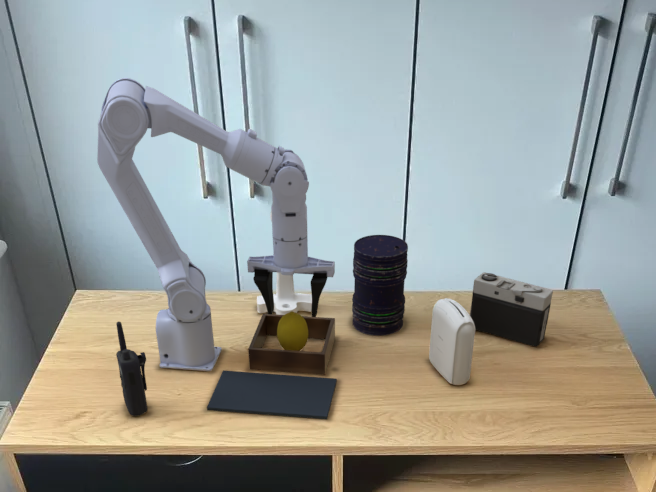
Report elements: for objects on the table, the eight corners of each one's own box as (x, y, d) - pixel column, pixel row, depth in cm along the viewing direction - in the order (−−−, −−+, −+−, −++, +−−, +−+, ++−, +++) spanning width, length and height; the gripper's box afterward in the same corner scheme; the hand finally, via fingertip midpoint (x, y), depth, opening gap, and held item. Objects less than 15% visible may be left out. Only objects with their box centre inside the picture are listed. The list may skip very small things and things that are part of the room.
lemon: (297, 364, 152) (296, 322, 147) (272, 355, 154) (269, 314, 149) (314, 351, 155) (314, 309, 150) (289, 343, 158) (287, 301, 152)
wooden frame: (249, 369, 151) (248, 349, 148) (264, 333, 160) (262, 313, 157) (325, 375, 149) (324, 354, 147) (335, 338, 159) (335, 318, 156)
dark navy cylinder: (346, 332, 161) (347, 253, 150) (357, 309, 167) (359, 232, 157) (399, 338, 159) (403, 259, 149) (407, 314, 166) (412, 237, 156)
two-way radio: (123, 402, 143) (107, 318, 132) (150, 397, 144) (136, 313, 133) (130, 420, 139) (114, 334, 129) (157, 414, 140) (143, 329, 130)
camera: (553, 330, 162) (563, 279, 155) (535, 348, 157) (545, 296, 150) (485, 312, 167) (492, 261, 160) (467, 328, 162) (473, 277, 155)
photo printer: (425, 359, 154) (430, 293, 145) (446, 355, 155) (453, 289, 146) (449, 388, 147) (457, 320, 138) (472, 383, 148) (481, 316, 139)
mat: (207, 410, 141) (206, 407, 141) (223, 373, 150) (222, 370, 149) (327, 419, 139) (327, 416, 139) (336, 381, 148) (336, 378, 148)
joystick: (314, 303, 169) (312, 198, 155) (315, 321, 164) (314, 214, 150) (257, 304, 169) (251, 199, 155) (257, 322, 163) (250, 215, 149)
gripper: (241, 242, 138) (247, 321, 147) (330, 247, 136) (330, 326, 146) (250, 225, 143) (255, 302, 152) (336, 229, 141) (336, 307, 151)
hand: (292, 313), depth 149 cm, fingers open, 7 cm apart
